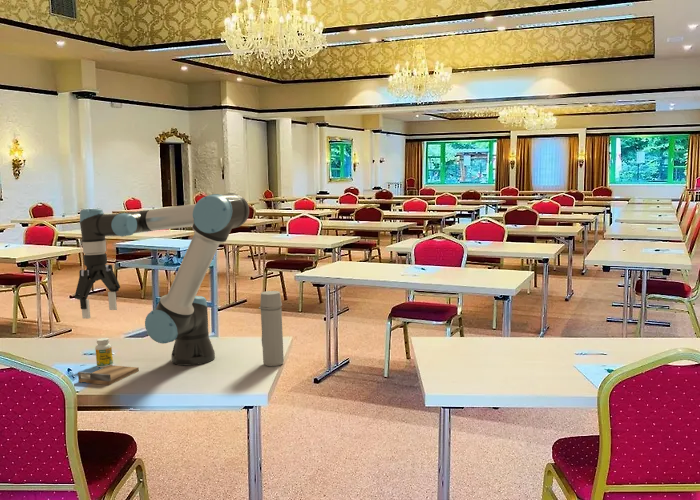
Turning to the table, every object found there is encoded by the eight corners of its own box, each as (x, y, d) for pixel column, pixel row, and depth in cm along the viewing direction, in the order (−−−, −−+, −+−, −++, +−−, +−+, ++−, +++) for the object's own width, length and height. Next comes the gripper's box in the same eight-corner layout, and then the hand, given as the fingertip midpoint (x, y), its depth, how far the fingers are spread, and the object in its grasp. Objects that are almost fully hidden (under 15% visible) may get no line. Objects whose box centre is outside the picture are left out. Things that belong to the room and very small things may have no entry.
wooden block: (138, 371, 222) (138, 361, 222) (108, 385, 208) (108, 375, 208) (109, 368, 226) (108, 359, 226) (78, 382, 212) (77, 372, 212)
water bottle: (289, 363, 226) (286, 292, 223) (271, 368, 220) (268, 295, 217) (272, 358, 232) (268, 289, 229) (254, 363, 227) (251, 292, 224)
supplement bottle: (111, 362, 233) (109, 336, 232) (114, 366, 229) (112, 339, 228) (95, 365, 231) (93, 338, 229) (98, 369, 226) (96, 341, 225)
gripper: (110, 249, 238) (114, 306, 241) (59, 258, 215) (65, 321, 217) (127, 249, 236) (132, 306, 238) (77, 258, 212) (83, 322, 215)
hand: (100, 314), depth 228 cm, fingers open, 13 cm apart
